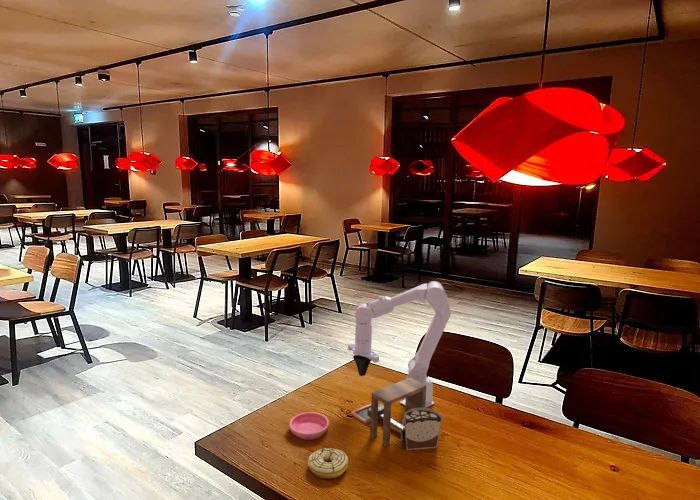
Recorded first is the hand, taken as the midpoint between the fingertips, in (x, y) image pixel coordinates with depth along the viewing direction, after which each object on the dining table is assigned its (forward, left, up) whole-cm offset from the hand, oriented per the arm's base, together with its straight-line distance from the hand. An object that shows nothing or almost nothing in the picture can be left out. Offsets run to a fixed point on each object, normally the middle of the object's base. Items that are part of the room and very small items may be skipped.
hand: (362, 374), depth 157 cm
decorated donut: (+32, +23, -10) cm, 41 cm away
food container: (+3, +30, -10) cm, 32 cm away
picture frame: (+4, +9, -9) cm, 14 cm away
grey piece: (+4, +19, -8) cm, 21 cm away
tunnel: (+4, +22, -9) cm, 24 cm away
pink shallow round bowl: (+26, +5, -10) cm, 28 cm away
